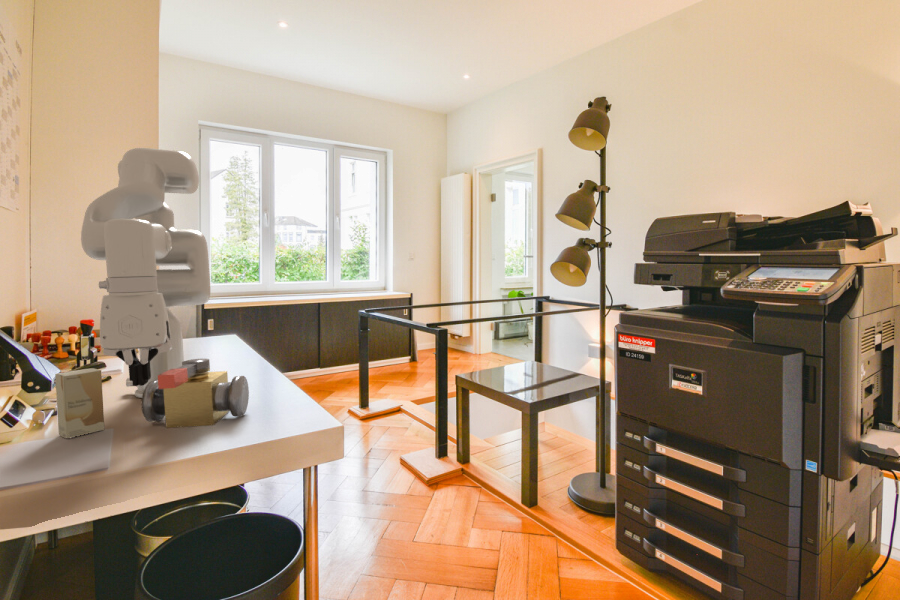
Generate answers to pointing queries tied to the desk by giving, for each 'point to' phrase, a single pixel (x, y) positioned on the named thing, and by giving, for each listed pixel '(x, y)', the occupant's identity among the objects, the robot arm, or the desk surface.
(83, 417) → the skincare box
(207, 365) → the lever
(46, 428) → the desk surface
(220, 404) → the valve
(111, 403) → the desk surface
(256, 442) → the desk surface
